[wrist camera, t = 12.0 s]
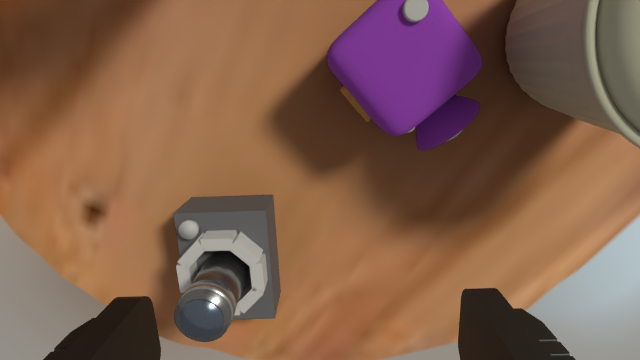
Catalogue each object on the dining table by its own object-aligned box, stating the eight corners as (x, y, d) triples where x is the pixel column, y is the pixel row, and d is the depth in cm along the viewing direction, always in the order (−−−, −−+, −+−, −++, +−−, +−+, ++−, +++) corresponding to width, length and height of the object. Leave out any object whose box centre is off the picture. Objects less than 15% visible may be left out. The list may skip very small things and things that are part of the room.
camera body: (191, 197, 40) (164, 221, 34) (272, 194, 40) (262, 218, 34) (204, 293, 44) (182, 333, 37) (280, 291, 43) (272, 330, 37)
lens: (202, 248, 37) (168, 295, 29) (248, 246, 36) (226, 293, 29) (208, 289, 38) (176, 344, 30) (252, 287, 38) (232, 343, 30)
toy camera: (414, 158, 39) (443, 184, 29) (311, 76, 37) (306, 76, 27) (487, 74, 37) (544, 72, 27) (381, -19, 35) (402, -56, 25)
